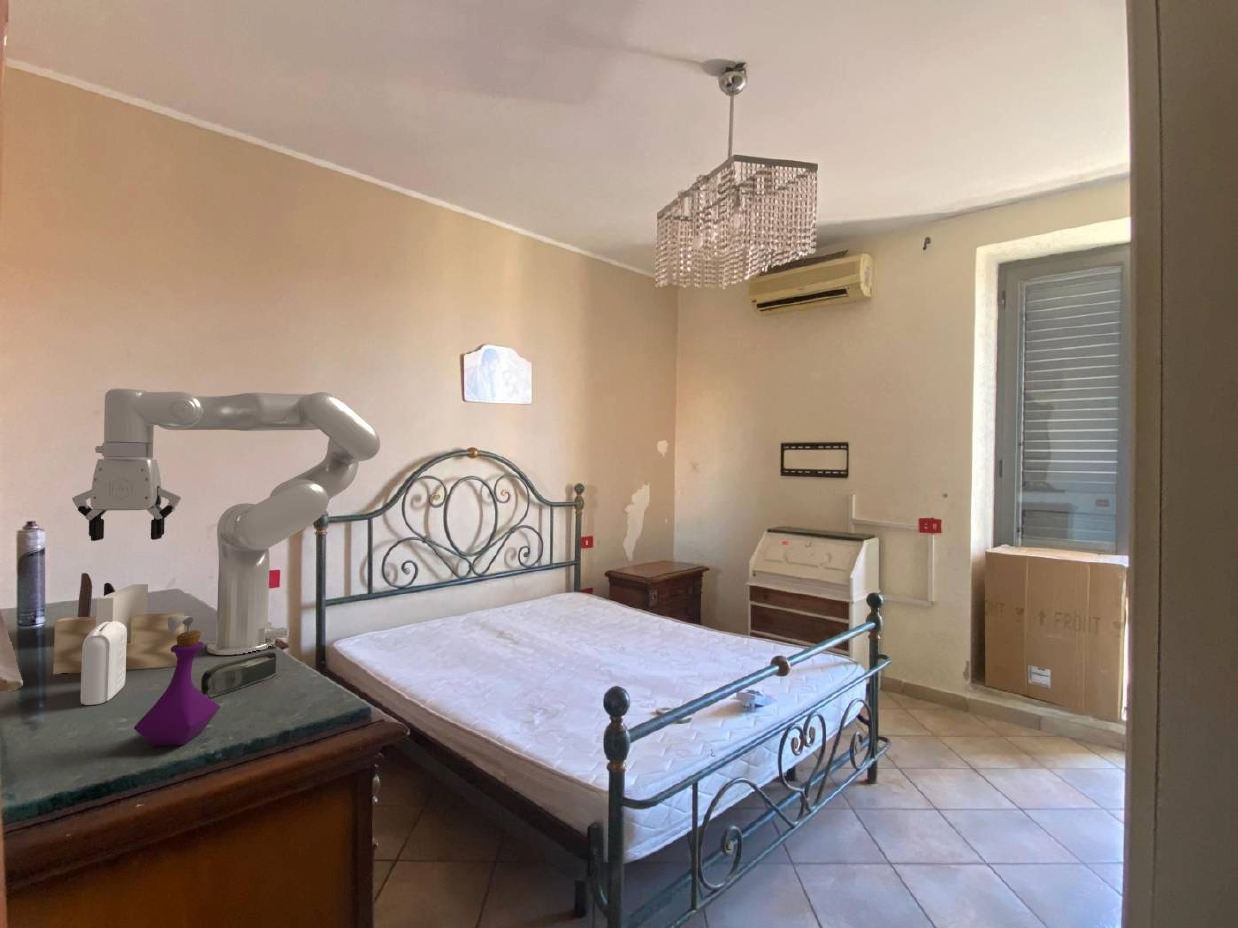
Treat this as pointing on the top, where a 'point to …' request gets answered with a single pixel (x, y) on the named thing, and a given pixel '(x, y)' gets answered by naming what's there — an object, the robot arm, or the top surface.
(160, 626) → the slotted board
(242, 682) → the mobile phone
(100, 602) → the cream angled block
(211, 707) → the perfume bottle
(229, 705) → the top surface
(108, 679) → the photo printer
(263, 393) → the robot arm
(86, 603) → the letter holder
